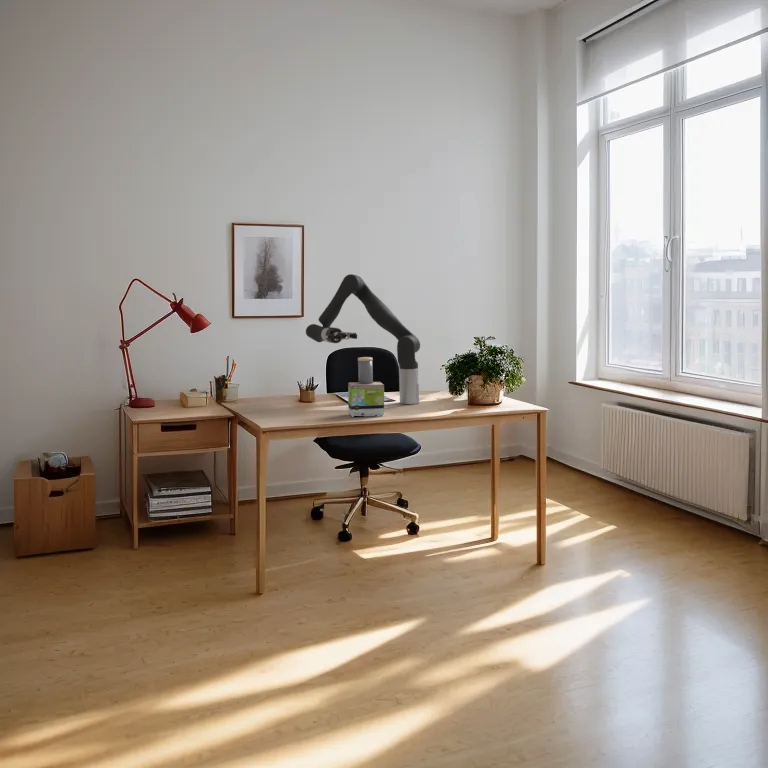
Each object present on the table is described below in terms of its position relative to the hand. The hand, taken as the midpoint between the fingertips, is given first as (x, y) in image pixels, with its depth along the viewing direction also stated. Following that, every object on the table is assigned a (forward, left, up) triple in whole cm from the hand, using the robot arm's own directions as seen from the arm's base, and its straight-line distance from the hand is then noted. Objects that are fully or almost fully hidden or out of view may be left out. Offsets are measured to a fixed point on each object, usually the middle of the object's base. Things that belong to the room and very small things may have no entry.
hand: (348, 337), depth 380 cm
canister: (-7, +20, -19) cm, 29 cm away
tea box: (-7, +20, -34) cm, 40 cm away
